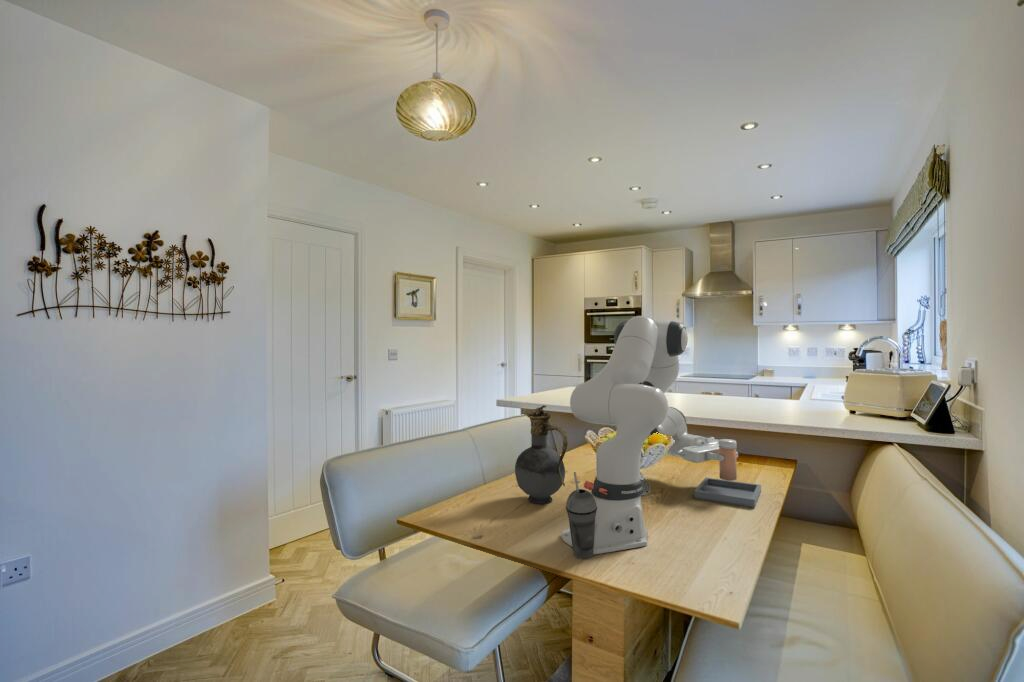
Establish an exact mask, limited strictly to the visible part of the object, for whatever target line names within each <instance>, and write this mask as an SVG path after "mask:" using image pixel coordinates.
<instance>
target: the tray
mask: <svg viewBox="0 0 1024 682" xmlns="http://www.w3.org/2000/svg"><path fill="white" fill-rule="evenodd" d="M760 493H762V485H761V484H757V483H750V482H742V481H737V480H733V481H729V480H723V479H720V478H712V477H704V478H703V480H702V481H701V482H700V484H698V485H697V487H696V488H695V489H694V493H693V494H694V495H693V496H694V499H695V500H699V499H700V500H701V501H706V500H707V502H713V503H718V502H719V504H725V503H727V505H731V504H734V505H733V506H737V505H740V507H744V506H746V507H745V508H750V507H752V508H751V509H755V508H756V506H757V504H758V501H759V499H758V498H760V496H761V494H760ZM756 503H757V504H756Z"/></svg>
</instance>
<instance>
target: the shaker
mask: <svg viewBox="0 0 1024 682" xmlns="http://www.w3.org/2000/svg"><path fill="white" fill-rule="evenodd" d="M718 440H719V454H722V455H725V460H724V461H719V460H718V464H719V466H718V467H719V468H718V469H719V472H718V473H719V479H721V480H728V481H737V478H738V477H737V476H738V475H737V471H738V470H737V458H736V452H737V445H738V444H737V440H735V439H729V438H721V439H718Z"/></svg>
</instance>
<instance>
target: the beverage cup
mask: <svg viewBox="0 0 1024 682" xmlns="http://www.w3.org/2000/svg"><path fill="white" fill-rule="evenodd" d="M573 476H574V483H575V490H573V491H572V492H571V493H570V494H568V497H567V499H566V505H565V509H566V513H567V517H568V524H569V528H570V532H571V539H572V546H573V547H572V546H571V547H572V550H573V551H572V552H573V555H574V556H575V557H574V558H577V559H580V560H587V559H591V558H592V557H593V555H594V554H593V549H594V532H595V517H596V512H597V505H596V501H595V499H594V497H593V495H592V494H591V491H589V490H588V489H585V488H584V489H583V488H579V484H578V483H579V482H578V477H577V473H576V471H574V472H573Z"/></svg>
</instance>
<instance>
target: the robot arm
mask: <svg viewBox="0 0 1024 682" xmlns="http://www.w3.org/2000/svg"><path fill="white" fill-rule="evenodd" d="M613 340H614V348H613V350H612V353H611V355H610V357H609V360H608V361H607V363H605V366H604V367H603V368H602V369H601V370H600V371H598V372H597V374H595V376H594V375H593V377H591V378H590V379H588V380H587V381H585V382H583V383H580V384H577V385H576V386H575V388H574V389H573V390H572V392H571V395H570V398H569V399H570V400H569V407H570V410H571V413H572V414H573V416H574V418H576V419H577V420H580V421H582V422H586V423H589V424H594V425H595V424H596V425H603V426H615V427H616V431H615V436H613V437H611V438H608V439H606V440H605V441H603V442H602V443H600V444H599V445H598V447H597V449H596V453H595V455H596V458H595V459H596V462H595V463H596V477H595V478H594V480H593V482H592V481H589V480H585V481H584V483H583V488H584V489H585V490H587V491H590V493H591V494H592V495H593V497H594V499H595V501H596V505H597V512H596V517H595V532H594V549H593V555H599V554H605V553H611V552H612V553H613V552H617V551H618V552H619V551H624V550H628V549H634V548H641V547H646V546H648V541H647V538H648V531H647V528H646V525H645V524H646V523H645V520H644V514H643V513H644V512H643V507H642V505H643V504H642V498H641V496H642V495H643V484H642V479H641V475H640V474H641V455H642V449H643V443H644V441H645V439H646V438H647V437H649V436H650V435H652V434H653V433H656V432H658V433H660V434H663V435H670V436H672V438H673V439H674V440H675V443H674V444H673V446H672V447H671V448H670V449H669V451H668V452H667V454H666V455H667V456H670V457H675V458H681V459H683V460H684V461H687V462H691V463H694V464H699V463H704V462H709V461H718V462H719V461H724V460H725V455H722V454H719V440H720V439H717V438H716V439H715V437H713V436H702V435H696V434H695V435H694V434H691V433H688V432H689V431H688V429H689V428H688V424H687V419H686V417H685V415H684V412H682V411H681V410H679V409H678V408H676V407H674V406H673V407H672V406H669V404H668V402H669V401H668V399H667V397H666V394H665V393H666V391H668V390H669V388H670V387H671V386H672V385H673V384H674V382H675V381H676V380H677V378H678V377H679V370H680V360H679V359H680V358H679V356H681V355H682V354H683V353H684V352H685V351H686V348H687V346H688V341H689V336H688V332H687V328H686V326H684V325H683V324H682V323H681V322H678V321H664V320H653V319H651V318H650V317H647V316H644V315H636V316H632V317H630V319H628V320H625V321H622V322H620V323H619V324H618V325H617V326H616V328H615V329H614V336H613ZM658 433H657V434H658ZM737 458H739V453H738V451H736V459H737ZM560 534H561V535H560V537H561V539H562V540H563V542H565V543H566V544H567V545H569V546H570V547H572V548H573V546H572V539H571V532H570V527H568V528H567V529H564V530H562V531H561V533H560Z"/></svg>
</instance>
